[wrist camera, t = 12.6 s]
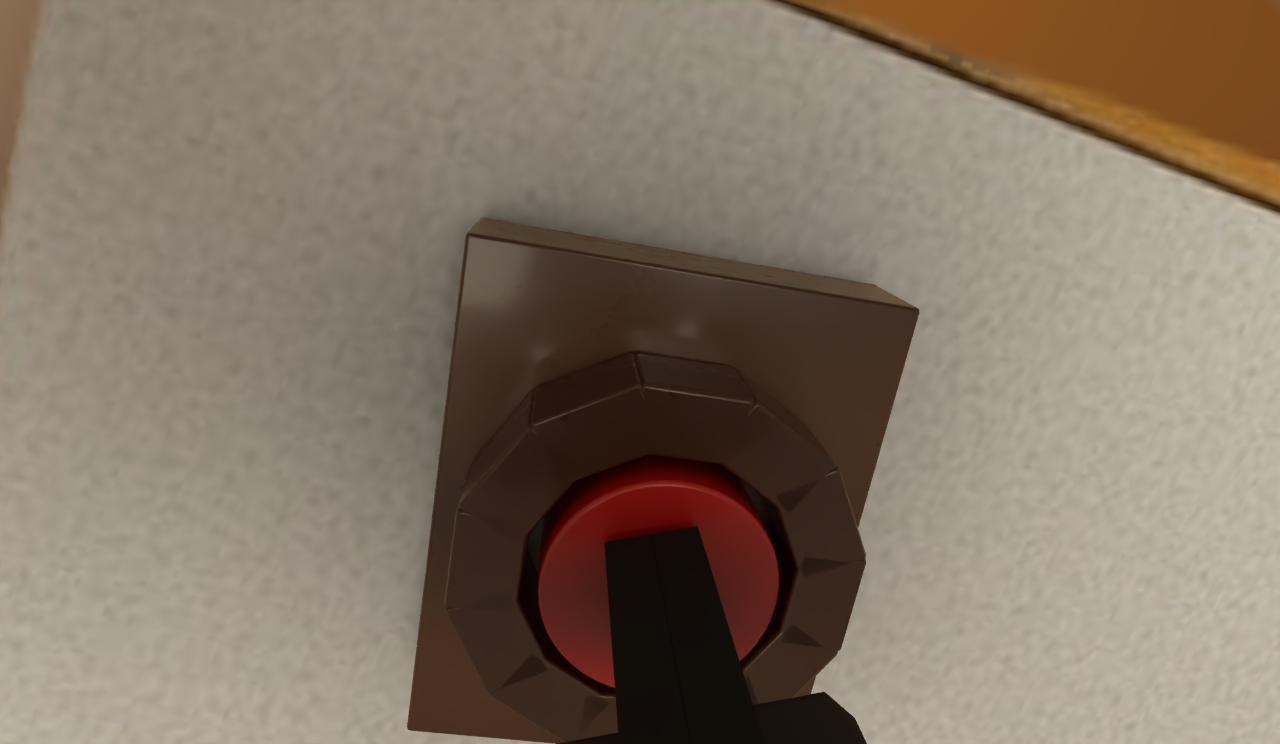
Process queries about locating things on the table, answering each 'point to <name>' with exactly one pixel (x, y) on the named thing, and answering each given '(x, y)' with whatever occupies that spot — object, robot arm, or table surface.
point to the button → (639, 506)
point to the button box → (640, 451)
